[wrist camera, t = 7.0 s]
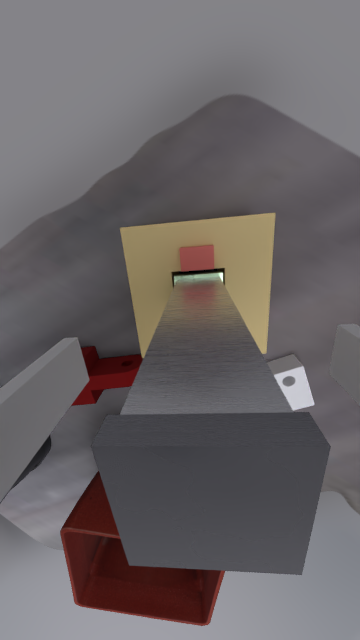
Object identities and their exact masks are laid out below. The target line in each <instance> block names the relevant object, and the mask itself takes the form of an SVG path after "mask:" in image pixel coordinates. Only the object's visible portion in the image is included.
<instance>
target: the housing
mask: <svg viewBox="0 0 360 640" xmlns="http://www.w3.org/2000/svg"><path fill="white" fill-rule="evenodd" d="M274 227H275V213H266V214H256V215H246V216H236V217H225V218H215V219H205V220H194V221H184V222H174V223H163V224H153V225H143V226H132V227H122V228H120V232H121V237H122V243H123V249H124V255H125V261H126V267H127V273H128V279H129V285H130V291H131V296H132V302H133V308H134V314H135V320H136V326H137V332H138V338H139V344H140V349H141V355H142V358H144V356H145V354H146V351H147V349H148V347H149V344H150V342H151V340H152V337H153V335H154V332H155V330H156V328H157V325H158V323H159V321H160V318H161V316H162V314H163V311H164V309H165V307H166V304H167V302H168V300H169V297H170V295H171V292H172V290H173V288H174V275H176V274H179V271H195V270H208V269H215V268H218V271H222V272H223V283H224V285H225V287H226V289H227V291H228V293H229V294H230V296H231V298H232V300H233V302H234V304H235V305H236V307H237V309H238V311H239V313H240V315H241V316H242V318H243V320H244V322H245V324H246V326H247V327H248V329H249V331H250V333H251V335H252V337H253V338H254V340H255V342H256V344H257V346H258V348H259V349H260V351H261V353H266V350H267V335H268V319H269V304H270V288H271V273H272V257H273V242H274Z"/></svg>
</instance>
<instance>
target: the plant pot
mask: <svg viewBox="0 0 360 640" xmlns="http://www.w3.org/2000/svg"><path fill="white" fill-rule="evenodd" d="M60 534H61V539H62V543H63V548H64V553H65V558H66V562H67V567H68V571H69V576H70V581H71V586H72V591H73V596H74V602H75V604H77V605H79V606H82V607H87V608H93V609H99V610H105V611H111V612H117V613H124V614H129V615H136V616H143V617H148V618H154V619H161V620H167V621H174V622H181V623H186V624H194V625H200V626H203V625H208V624H209V623H210V621H211V617H212V613H213V610H214V606H215V603H216V599H217V596H218V593H219V589H220V586H221V582H222V580H223V577H224V573H225V571H222V570H204V569H185V568H167V567H149V566H130V565H129V564H128V560H127V557H126V554H125V551H124V548H123V545H122V542H121V539H120V535H119V532H118V529H117V526H116V523H115V520H114V517H113V513H112V510H111V507H110V504H109V501H108V498H107V495H106V492H105V488H104V485H103V482H102V479H101V476H100V473H99V471H98V472H97V474H96V475H95V476H94V478H93V479H92V481H91V482H90V484H89V485H88V487H87V488H86V490H85V491H84V493H83V494H82V496H81V497H80V499H79V500H78V502H77V504H76V505H75V507H74V508H73V510H72V512H71V513H70V515H69V517H68V518H67V520H66V522H65V523H64V525H63V527H62V529H61V531H60Z"/></svg>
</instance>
